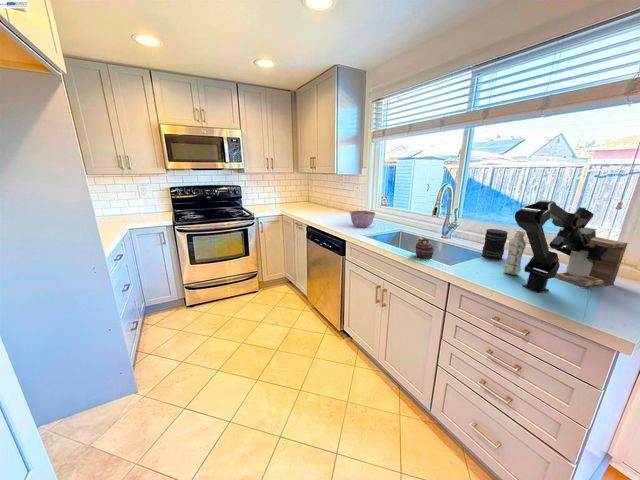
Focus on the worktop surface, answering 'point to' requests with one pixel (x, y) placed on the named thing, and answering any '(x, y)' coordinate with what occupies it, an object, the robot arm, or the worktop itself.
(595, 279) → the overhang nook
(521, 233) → the plastic bottle
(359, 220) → the bowl of food
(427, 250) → the cupcake
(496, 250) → the storage jar
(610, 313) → the worktop surface
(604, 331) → the worktop surface
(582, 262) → the can
